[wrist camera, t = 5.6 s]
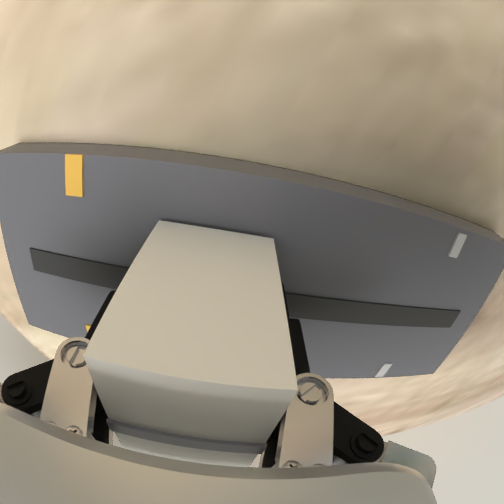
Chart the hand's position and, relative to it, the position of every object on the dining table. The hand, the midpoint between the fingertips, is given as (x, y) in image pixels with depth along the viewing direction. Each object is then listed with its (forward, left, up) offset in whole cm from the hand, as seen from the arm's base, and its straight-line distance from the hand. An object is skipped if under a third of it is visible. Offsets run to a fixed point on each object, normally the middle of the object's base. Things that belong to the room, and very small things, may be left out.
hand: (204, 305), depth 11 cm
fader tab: (0, 0, 0) cm, 0 cm away
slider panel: (-2, 0, -3) cm, 4 cm away
